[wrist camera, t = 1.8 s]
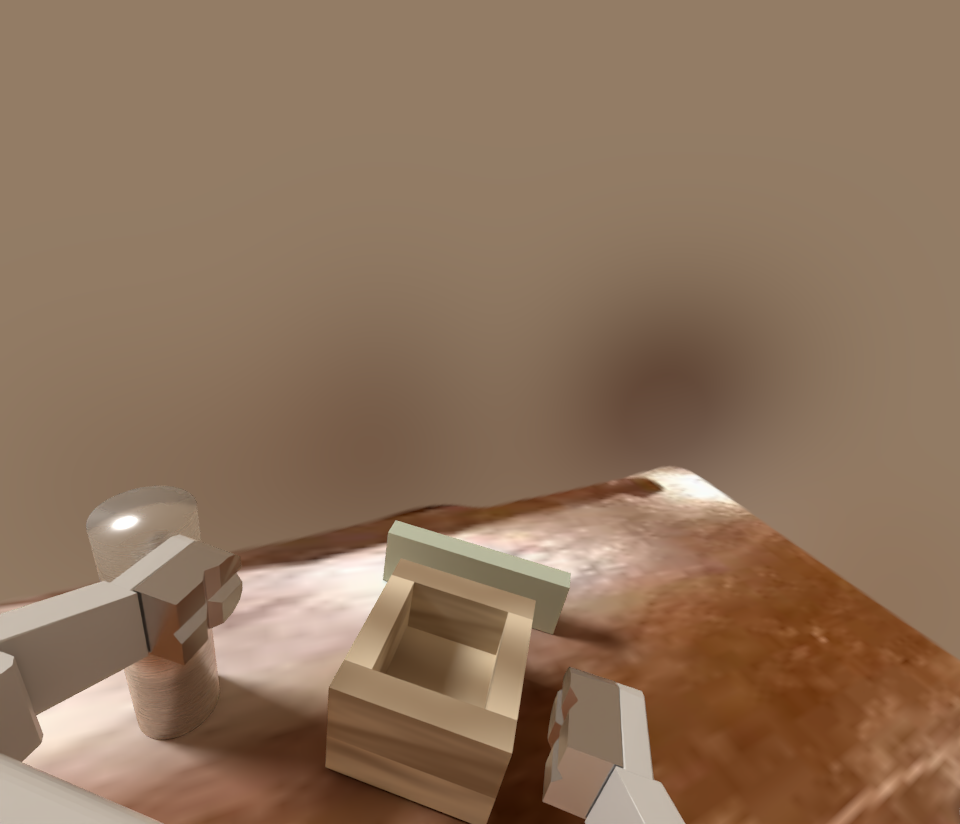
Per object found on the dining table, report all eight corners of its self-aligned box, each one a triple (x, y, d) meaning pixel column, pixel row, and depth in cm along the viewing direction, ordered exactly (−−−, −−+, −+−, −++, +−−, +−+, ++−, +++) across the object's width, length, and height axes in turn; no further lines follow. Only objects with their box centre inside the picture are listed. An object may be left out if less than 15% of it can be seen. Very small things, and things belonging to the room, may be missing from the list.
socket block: (484, 828, 24) (512, 753, 21) (325, 767, 25) (328, 687, 22) (512, 671, 32) (535, 600, 29) (391, 630, 33) (400, 558, 30)
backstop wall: (552, 634, 35) (569, 588, 33) (383, 579, 37) (388, 532, 35) (554, 618, 36) (570, 573, 34) (390, 566, 38) (395, 520, 36)
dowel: (208, 657, 29) (183, 477, 23) (229, 709, 27) (208, 523, 21) (130, 694, 27) (79, 502, 20) (146, 756, 24) (93, 559, 18)
